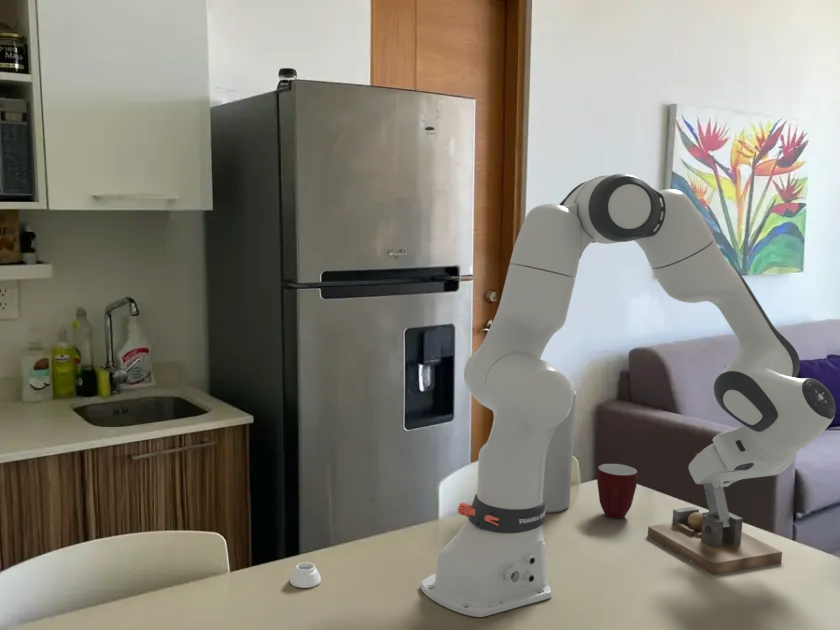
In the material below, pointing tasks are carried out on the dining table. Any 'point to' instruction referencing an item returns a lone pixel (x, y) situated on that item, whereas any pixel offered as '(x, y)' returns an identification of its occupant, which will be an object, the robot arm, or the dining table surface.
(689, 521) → the walnut
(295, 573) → the lidless jar
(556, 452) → the cylinder vase
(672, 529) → the bench
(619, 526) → the dining table surface
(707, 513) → the lever
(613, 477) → the mug
